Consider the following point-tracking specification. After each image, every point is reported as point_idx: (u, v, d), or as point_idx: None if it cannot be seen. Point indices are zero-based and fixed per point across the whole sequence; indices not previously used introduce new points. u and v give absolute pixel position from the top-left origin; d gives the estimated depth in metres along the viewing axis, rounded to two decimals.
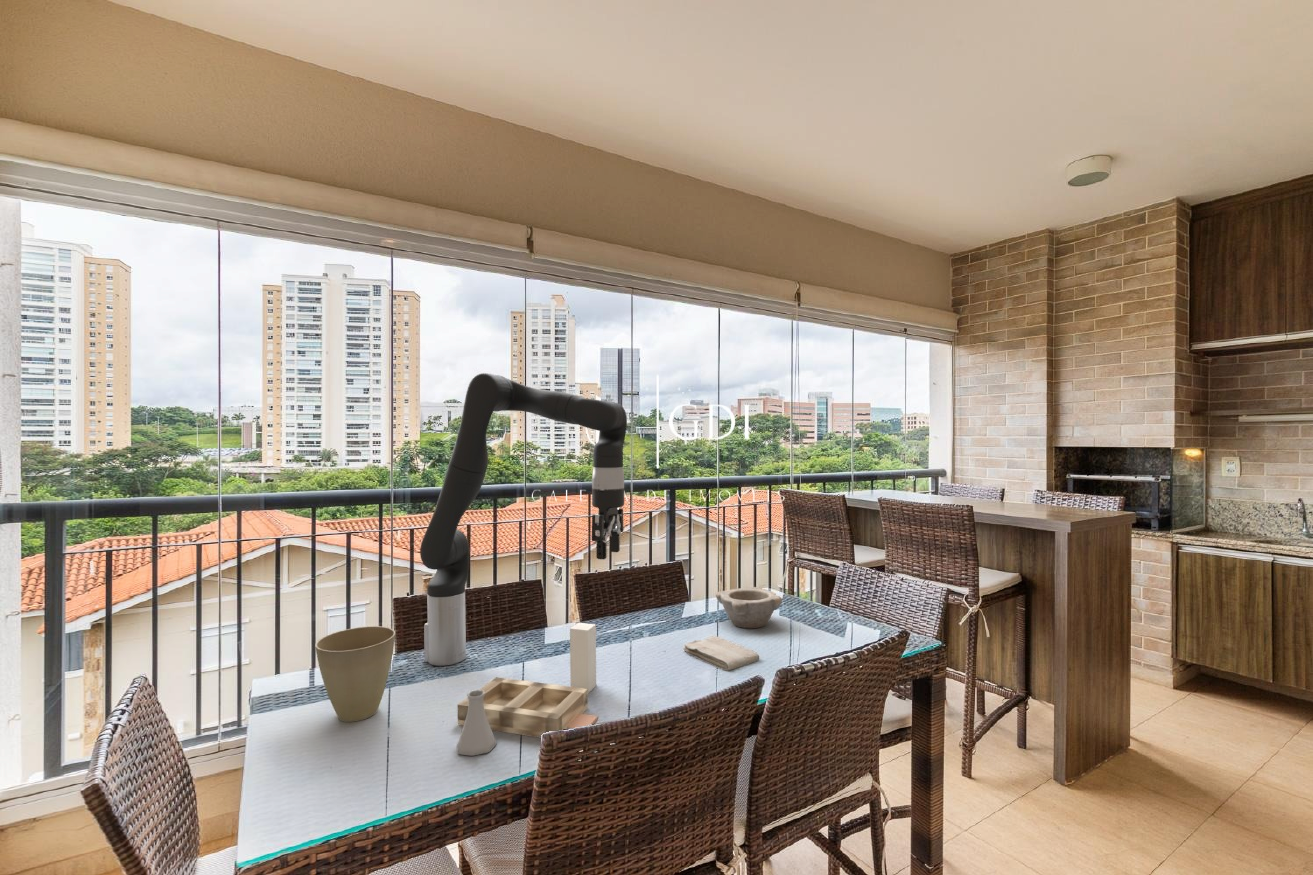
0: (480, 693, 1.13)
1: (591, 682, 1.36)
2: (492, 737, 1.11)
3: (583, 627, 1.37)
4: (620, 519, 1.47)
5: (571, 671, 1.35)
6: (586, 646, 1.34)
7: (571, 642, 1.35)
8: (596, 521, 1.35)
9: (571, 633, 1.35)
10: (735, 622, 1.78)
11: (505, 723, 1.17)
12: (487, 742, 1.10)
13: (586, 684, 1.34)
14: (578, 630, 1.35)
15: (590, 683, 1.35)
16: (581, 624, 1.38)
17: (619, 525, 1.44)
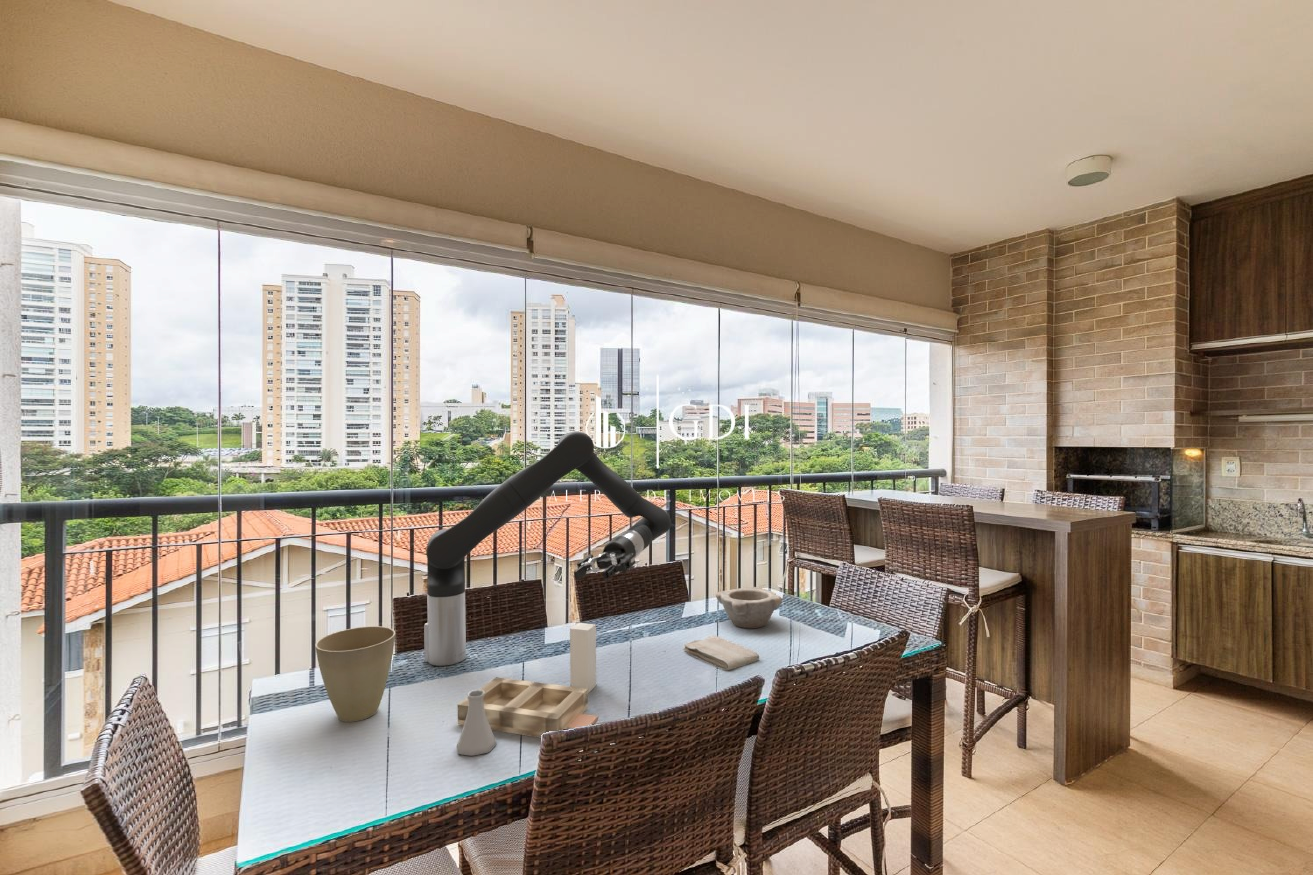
0: (480, 693, 1.13)
1: (591, 682, 1.36)
2: (492, 737, 1.11)
3: (583, 626, 1.37)
4: (589, 566, 1.53)
5: (571, 671, 1.35)
6: (586, 646, 1.34)
7: (571, 642, 1.35)
8: (632, 559, 1.48)
9: (571, 633, 1.35)
10: (735, 622, 1.78)
11: (505, 723, 1.17)
12: (487, 742, 1.10)
13: (586, 684, 1.34)
14: (578, 630, 1.35)
15: (590, 683, 1.35)
16: (581, 624, 1.38)
17: None
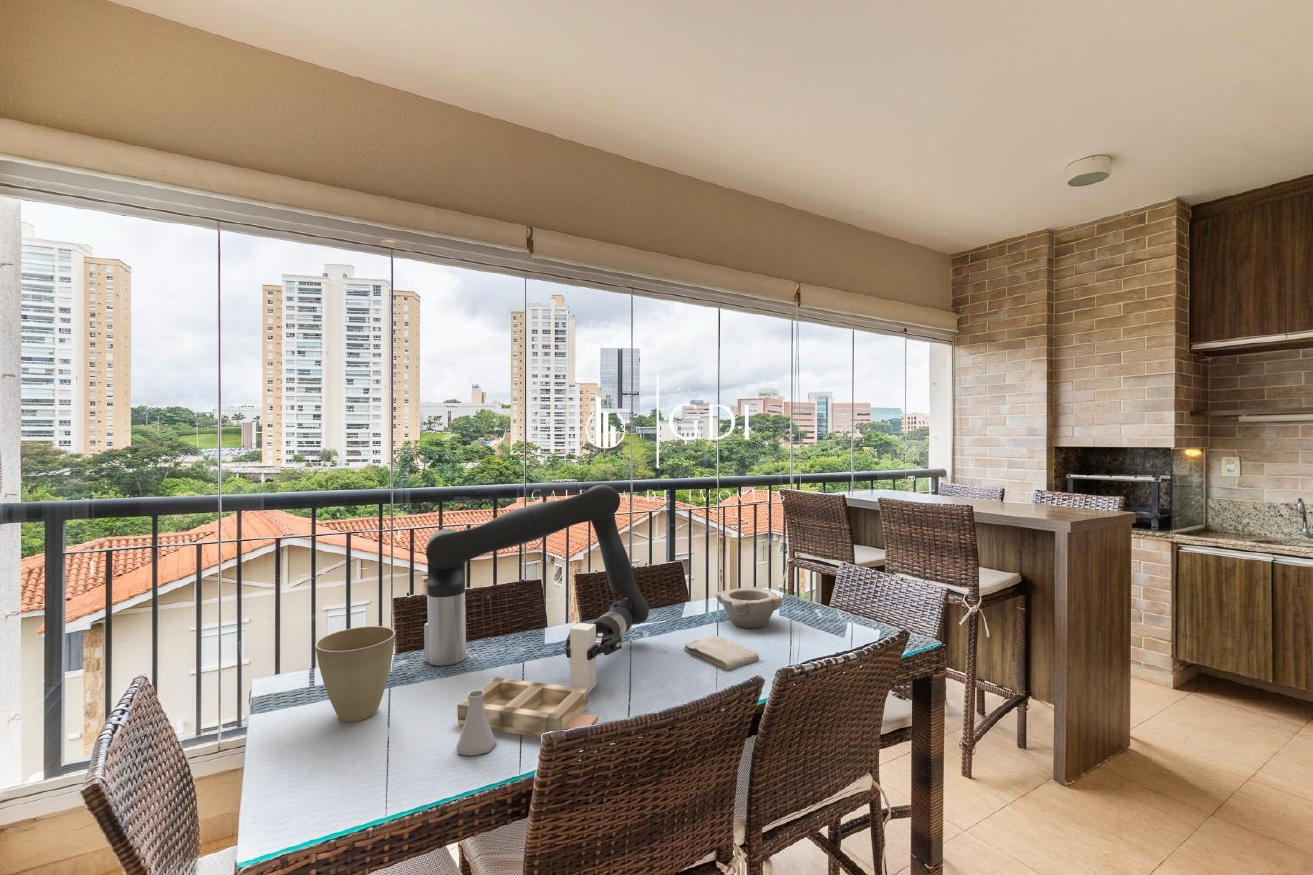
0: (480, 693, 1.13)
1: (591, 682, 1.36)
2: (492, 737, 1.11)
3: (583, 626, 1.36)
4: None
5: (571, 671, 1.35)
6: (586, 646, 1.34)
7: (571, 642, 1.35)
8: (618, 644, 1.41)
9: (571, 633, 1.35)
10: (735, 622, 1.78)
11: (505, 723, 1.17)
12: (487, 742, 1.10)
13: (587, 684, 1.34)
14: (578, 630, 1.35)
15: (590, 683, 1.35)
16: (581, 624, 1.38)
17: None
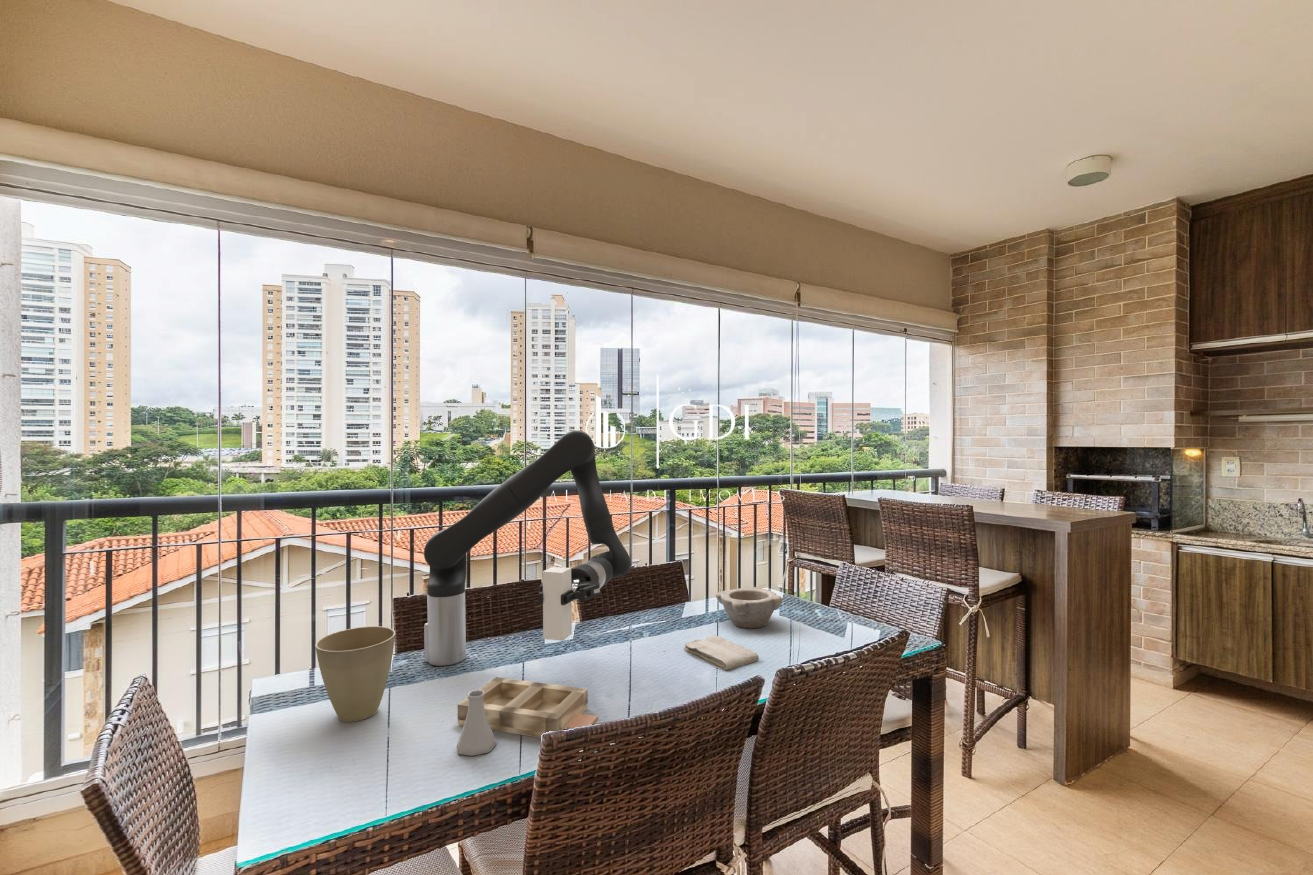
0: (480, 693, 1.13)
1: (565, 630, 1.25)
2: (492, 737, 1.11)
3: (557, 570, 1.26)
4: None
5: (544, 618, 1.25)
6: (560, 590, 1.24)
7: (543, 586, 1.25)
8: (596, 590, 1.30)
9: (544, 576, 1.25)
10: (735, 622, 1.78)
11: (505, 723, 1.17)
12: (487, 742, 1.10)
13: (561, 631, 1.24)
14: (551, 573, 1.24)
15: (564, 631, 1.24)
16: (555, 568, 1.27)
17: None
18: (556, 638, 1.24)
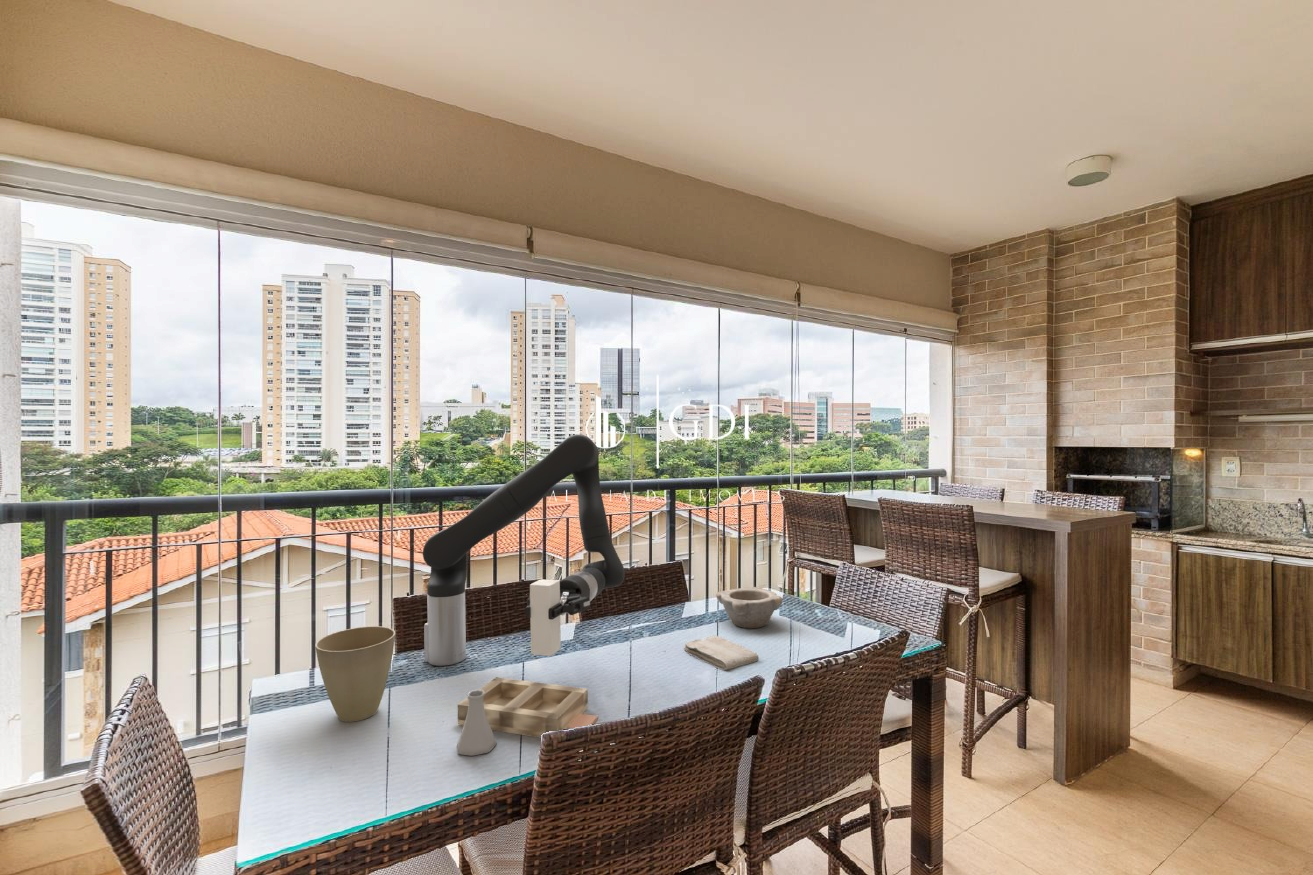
0: (480, 693, 1.13)
1: (554, 645, 1.21)
2: (492, 737, 1.11)
3: (544, 582, 1.21)
4: None
5: (531, 632, 1.20)
6: (548, 604, 1.19)
7: (531, 599, 1.20)
8: (586, 603, 1.25)
9: (531, 590, 1.20)
10: (735, 622, 1.78)
11: (505, 723, 1.17)
12: (487, 742, 1.10)
13: (549, 647, 1.19)
14: (538, 586, 1.20)
15: (552, 646, 1.20)
16: (543, 580, 1.23)
17: None
18: (544, 653, 1.20)
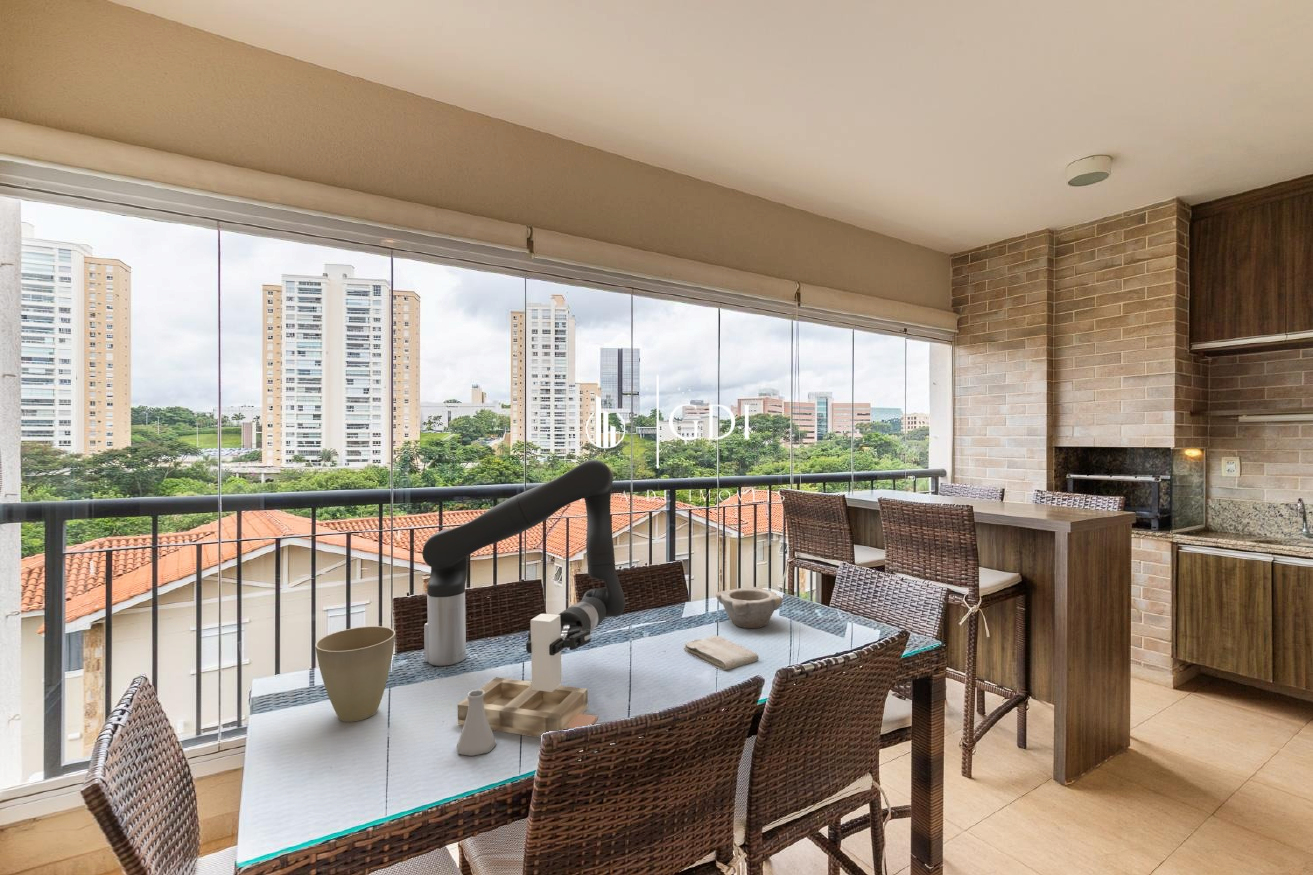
0: (480, 693, 1.13)
1: (555, 680, 1.21)
2: (492, 737, 1.11)
3: (545, 618, 1.21)
4: None
5: (532, 668, 1.20)
6: (548, 639, 1.19)
7: (531, 635, 1.20)
8: (586, 637, 1.25)
9: (532, 625, 1.20)
10: (735, 622, 1.78)
11: (505, 723, 1.17)
12: (487, 742, 1.10)
13: (549, 682, 1.19)
14: (539, 621, 1.20)
15: (553, 681, 1.20)
16: (543, 615, 1.23)
17: None
18: (545, 689, 1.20)
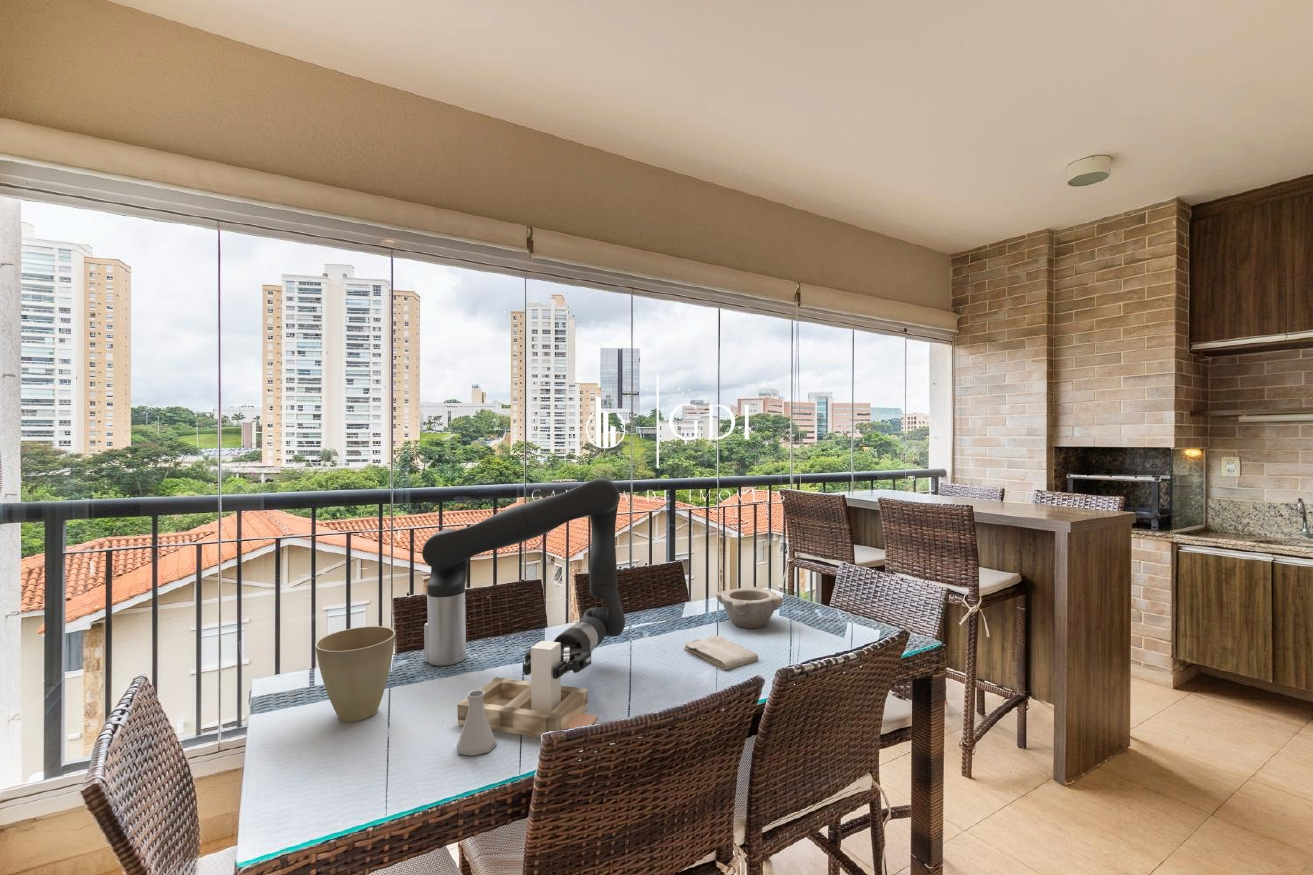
0: (480, 693, 1.13)
1: (554, 708, 1.21)
2: (492, 737, 1.11)
3: (545, 645, 1.22)
4: None
5: (532, 696, 1.20)
6: (549, 667, 1.19)
7: (532, 662, 1.21)
8: (588, 659, 1.26)
9: (532, 653, 1.21)
10: (735, 622, 1.78)
11: (505, 723, 1.17)
12: (487, 742, 1.10)
13: (549, 710, 1.19)
14: (540, 649, 1.20)
15: (553, 709, 1.20)
16: (544, 642, 1.23)
17: None
18: None
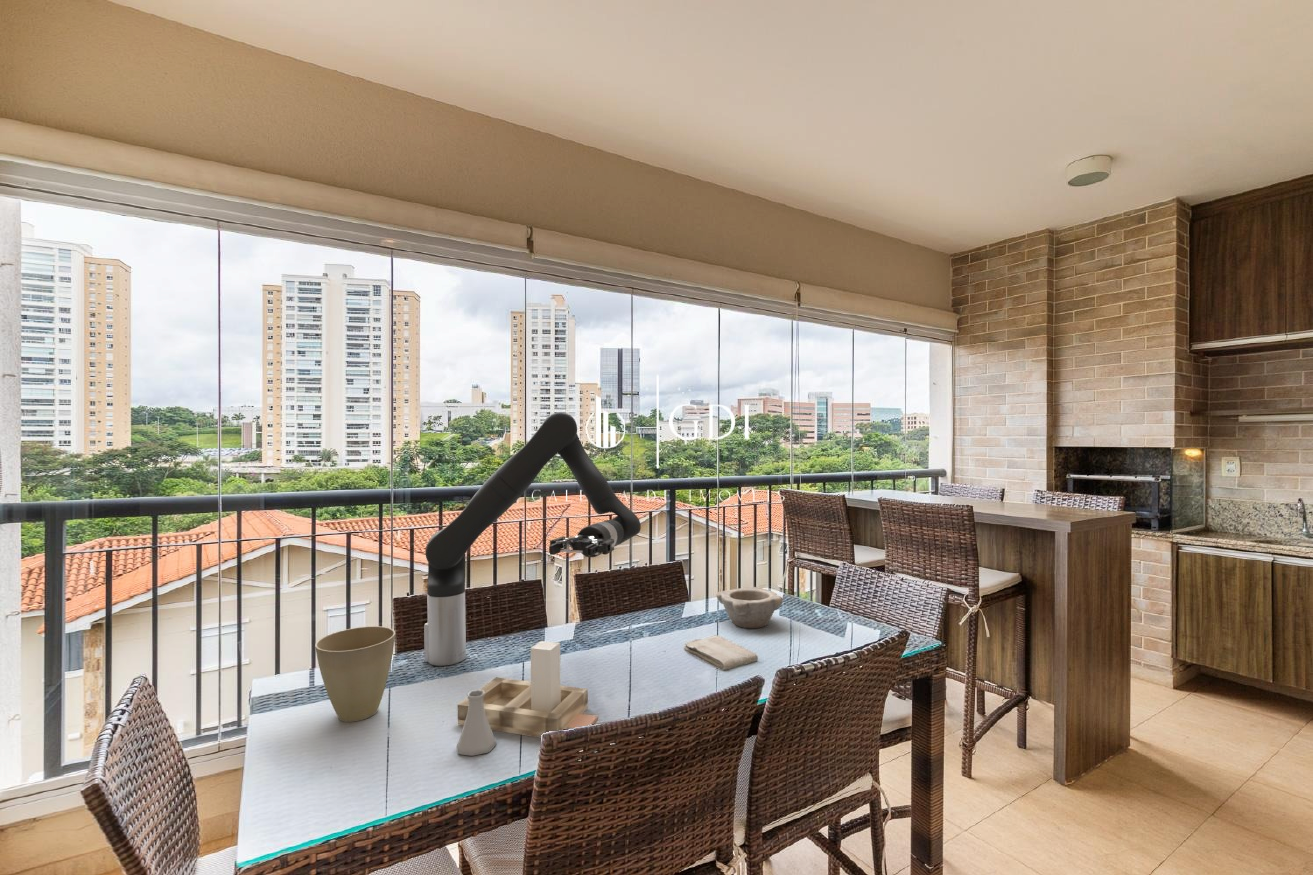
0: (480, 693, 1.13)
1: (554, 708, 1.21)
2: (492, 737, 1.11)
3: (545, 646, 1.22)
4: (560, 547, 1.41)
5: (532, 696, 1.20)
6: (548, 668, 1.19)
7: (531, 663, 1.20)
8: (612, 545, 1.39)
9: (532, 653, 1.20)
10: (735, 622, 1.78)
11: (505, 723, 1.17)
12: (487, 742, 1.10)
13: (549, 711, 1.19)
14: (539, 650, 1.20)
15: (553, 709, 1.20)
16: (543, 643, 1.23)
17: None
18: None
